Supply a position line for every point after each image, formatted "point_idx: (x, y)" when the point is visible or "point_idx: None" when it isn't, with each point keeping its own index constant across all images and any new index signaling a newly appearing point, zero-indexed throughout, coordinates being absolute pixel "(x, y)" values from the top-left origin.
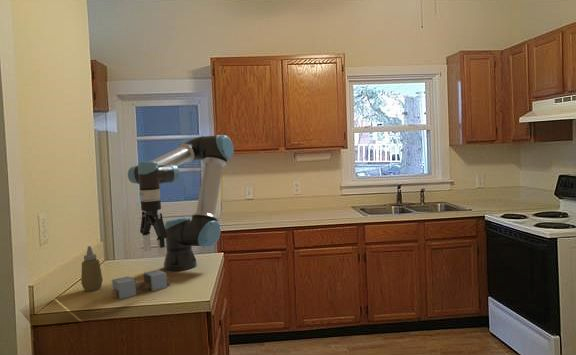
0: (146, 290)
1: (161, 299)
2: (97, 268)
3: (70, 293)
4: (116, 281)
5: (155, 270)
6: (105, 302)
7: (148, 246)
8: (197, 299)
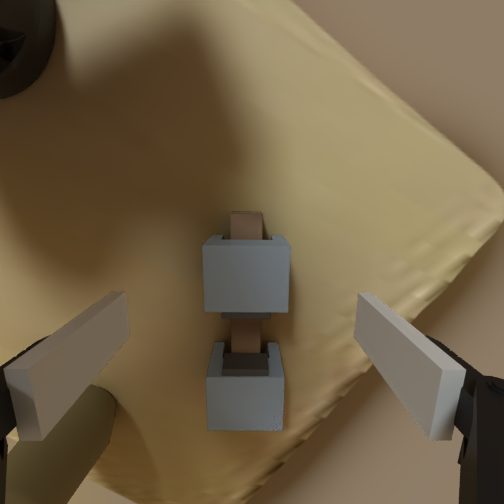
0: None
1: None
2: (65, 469)
3: None
4: (247, 428)
5: (206, 259)
6: None
7: (111, 324)
8: (481, 220)
